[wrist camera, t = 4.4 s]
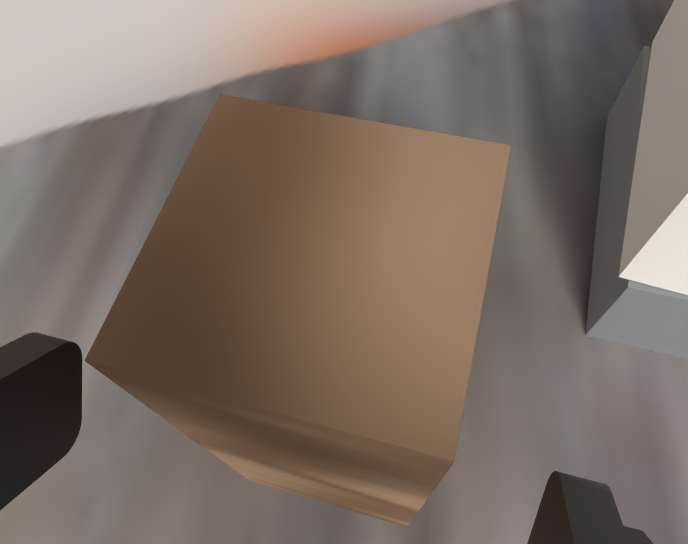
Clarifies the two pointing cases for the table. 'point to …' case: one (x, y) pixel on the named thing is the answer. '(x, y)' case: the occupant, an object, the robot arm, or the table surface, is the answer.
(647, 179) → the tower top slab
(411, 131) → the walnut block
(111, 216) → the table surface
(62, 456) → the robot arm
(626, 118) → the tower base slab
